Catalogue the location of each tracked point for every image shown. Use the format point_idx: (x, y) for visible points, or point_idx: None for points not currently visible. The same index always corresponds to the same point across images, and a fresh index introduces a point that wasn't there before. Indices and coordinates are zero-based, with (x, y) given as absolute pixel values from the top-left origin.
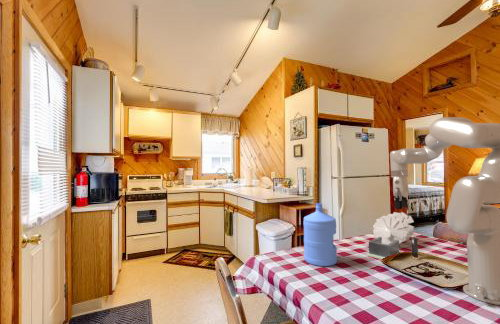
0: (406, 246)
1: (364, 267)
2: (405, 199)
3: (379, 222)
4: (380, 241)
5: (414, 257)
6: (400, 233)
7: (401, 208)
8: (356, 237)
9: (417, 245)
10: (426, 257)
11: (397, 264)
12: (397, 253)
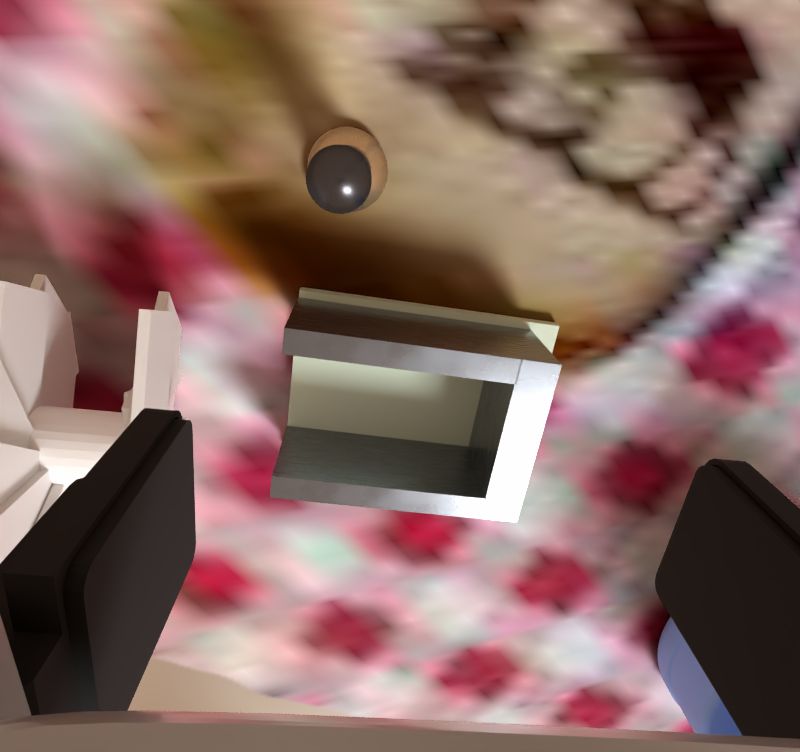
0: (32, 268)
1: (753, 429)
2: (58, 617)
3: None
4: (308, 460)
5: (376, 172)
6: (156, 343)
7: (740, 477)
8: None
9: (351, 146)
10: (268, 79)
11: (594, 269)
12: (363, 303)
